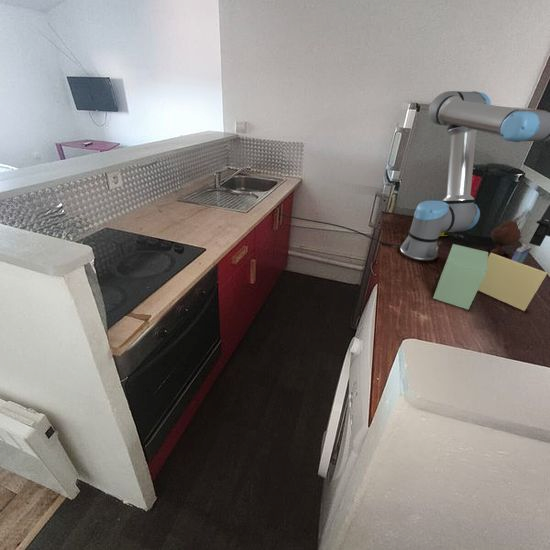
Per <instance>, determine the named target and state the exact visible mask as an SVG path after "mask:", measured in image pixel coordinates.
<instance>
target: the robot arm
mask: <svg viewBox="0 0 550 550" xmlns="http://www.w3.org/2000/svg"><path fill="white" fill-rule="evenodd" d="M428 118H429V119H430V121H431V122H432V124H433V123H434V124H436V125H439V126H445V127H447V128H446V133H447V134H448V135H449V136H450V145H449V146H450V147H449V157H448V158H449V160H448V170H447V185H446V186H447V187H446V196H445V197H444V198H443V199H442V200H432V199H431V200H424V201H422V202H420V203H419V204H417V206H416V209H415V211H414V213H413V219H412V221H411V226H410V228H409V232H408V235H407V237H406V238H405V240H404V241H403V242H402V244H397V243H390V242H385V241H382V240H379V239H377V238H374V237H373V236H370V235H367V234H365V233H363V232H362V231H358V230H356V229H353V228H350V227H346V226H342V225H339V224H334V223H330V222H324V221H318V220H313V219H308V218H301V217H297V216H292V215H287V214H284V213H280V214H279V215H280V216H283V217H287V218H291V219H296V220H301V221H306V222H313V223H319V224H322V225H323V224H324V225H330V226H333V227H338V228H342V229H345V230H348V231H351V232H354V233H357V234H359V235H361V236H364V237H366V238H369V239H371V240H373V241H375V242H377V243H380V244H384V245H387V246H395V247H399V253H400V254H401V256H403V257H404V258H406V259H408V260H411V261H414V262H420V263H431V262H434V261H436V260H437V257H438V250H439V246H438V240H439V237H440V236H439V235H440V233H444V232H453V233H455V232H456V233H457V232H459V233H460V232H465V231H470V229H473V228H474V227H475V226H476V225H477V224H478V222H479V220H480V217H481V210H480V208H479V207H478V205H477V204H476V203H475V197H473V196H472V195H471V193H472V182H473V171H474V161H475V151H476V150H475V149H476V140H477V138H476V137H477V132H483V133H487V134H491V135H495V136H500V137H501V138H502V139H503V140H505V141H506V142H513V143H521V142H550V111H535V110H534V111H533V110H527V109H521V108H514V107H513V108H512V107H507V106H502V105H501V106H499V105H495V104H491V99H490V97H489V96H488V95H487V94H486V93H485V92H480V91H476V90H472V91H463V90H462V91H461V90H459V91H458V90H457V91H456V90H448V91H445V92H442V93H440V94H438V95H437V96H436V97H435V98H434V99H433V100H432V102H430V105H429V107H428ZM536 224H538V225H537V228H536V229H535V231H534V233H533V235H532V237H531V238H530V240H529V243H528V244H530V245H533V246H537V247H541V245H542V244H543V242H544V240H545V238H546V237H550V204H548V206H547V208H546V209H545V210H544V213H543V214H542V216H541V217H540V219H539V220H536Z"/></svg>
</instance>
